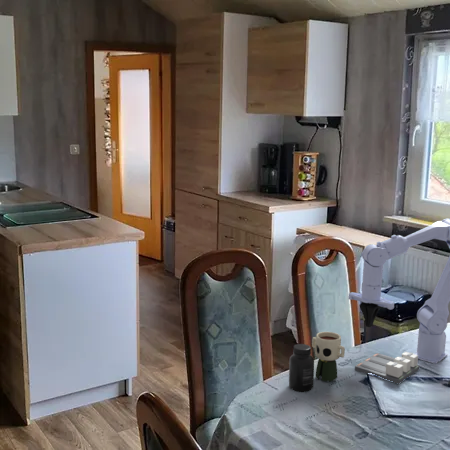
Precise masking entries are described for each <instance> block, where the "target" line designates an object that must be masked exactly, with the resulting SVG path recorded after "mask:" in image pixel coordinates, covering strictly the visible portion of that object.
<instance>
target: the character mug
mask: <svg viewBox="0 0 450 450" xmlns="http://www.w3.org/2000/svg"><path fill="white" fill-rule="evenodd" d="M311 348H313V349H314V352H315V357H316V358H317V359H318V360H317V363H316V369H315V378H316V379H317V380H320V378H321V381H323V382H333V381H335V380H336V379H338V366H337V365H338V364H337V360H339V359H340V358H345V351H346V350H345V349H346V348H345V346H343V345H342V335H340V334H339V333H337V332H333V331H320V332H318V333H316V336H312V339H311Z"/></svg>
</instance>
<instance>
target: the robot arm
mask: <svg viewBox="0 0 450 450" xmlns="http://www.w3.org/2000/svg"><path fill="white" fill-rule="evenodd" d="M431 240H439V241H444V242H446V244H447V246H448V248H449V249H450V218H444V219H442V220H438V221H435V222H433V223H432V224H430V225H428V226H426V227H424V228H422V229H419V230H417V231H415V232H413V233H410V234H408V235H406V236H403V235H400V234H397V235H396V234H393V235H391V236H390V238H388V239H386V240H383V241H376V244H374V243H373V244H368V245H366V246H365V247H364V248H363V250H362V252H361V257H362V259H363V269H362V271H363V272H362V284H361V293H360V292H353V291H352V292H348V300H351V301H352V300H354V301H357V302H361V303H360V304H359V309H360V310H361V312H362V315H363V320H364V324H365V327H368V328H371V327H373V325H374V322H375V319H376V316H377V315H378V313H379V311H380V309H382V308H386V309H388V310H393V309H394V308H395V302H394V301H392V300H388V299H386V298H383V297H382V286H383V285H382V282H383V266H384V265H385V263H386V262H387V261H388V260H391V259H393V258H396V257H400V256H401V255H403V254H406V253H407V252H408V250H409V249H410V248H411V247H414V246H416V245H420V244H423V243H426V242H429V241H431ZM449 303H450V255H449V256H448V258H447V261H446V263H445V266H444V268H443V270H442V272H441V275H440V276H439V279H438V281H437V283H436V286H435V288H434V290H433V292H432V295H431V297H430V298H428V299H427V300H425V301H424V304H423V305H422V306H421V307H420V308H419V309H418V310H417V313H416V318H417V320H418V321H417V322H419V327H418V334H417V335H418V336H417V348H416V352H414V353H413V354H415V355H418V360H422V361H425V362H428V363H432V364H438V363H439V362H440V361H441V360H443V359H445V357H446V358H447V356H448V353H447V352H446V342H447V341H446V340H447V334H446V332H445V331H446V329H447V328H448V318H449V315H450V312H449Z"/></svg>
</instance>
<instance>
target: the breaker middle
mask: <svg viewBox="0 0 450 450" xmlns="http://www.w3.org/2000/svg"><path fill="white" fill-rule="evenodd" d="M394 358H395V359H394V363H395V362H396V363H398V364H401V365H403V372H408V371H409V370H410V366H411V360H408V359H406V358H404V357H403V358H402V356H397V357H394Z"/></svg>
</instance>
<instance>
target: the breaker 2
mask: <svg viewBox="0 0 450 450" xmlns="http://www.w3.org/2000/svg"><path fill="white" fill-rule="evenodd" d="M401 357H402V358H403V357H404V358H406V359H408V360H411V367H415V366H416V365H418V362H419V359H418V355H415V354H414V353H413V352H409V351H404V352H403V353H401Z"/></svg>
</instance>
